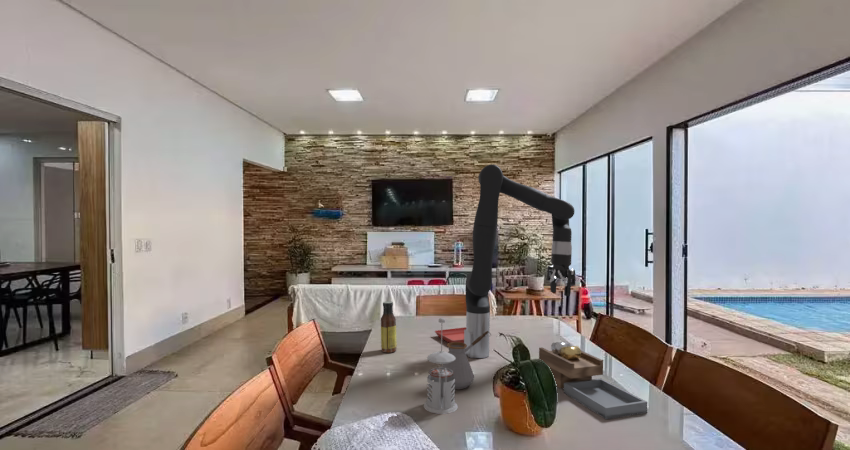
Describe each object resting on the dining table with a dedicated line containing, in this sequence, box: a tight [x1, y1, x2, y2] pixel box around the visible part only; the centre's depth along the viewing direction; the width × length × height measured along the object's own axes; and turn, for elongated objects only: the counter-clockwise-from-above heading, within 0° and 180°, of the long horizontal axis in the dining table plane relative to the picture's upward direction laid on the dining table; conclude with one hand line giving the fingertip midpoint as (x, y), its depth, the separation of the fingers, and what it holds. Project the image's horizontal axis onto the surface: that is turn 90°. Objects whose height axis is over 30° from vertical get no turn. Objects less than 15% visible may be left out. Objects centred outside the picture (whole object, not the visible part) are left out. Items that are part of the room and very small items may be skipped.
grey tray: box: [563, 378, 648, 420], centre depth 120 cm, size 14×18×3 cm
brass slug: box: [561, 345, 582, 360], centre depth 134 cm, size 5×4×4 cm
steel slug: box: [550, 341, 571, 355], centre depth 139 cm, size 5×4×4 cm
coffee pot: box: [442, 331, 492, 390], centre depth 135 cm, size 21×12×15 cm, turn 130°
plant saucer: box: [434, 326, 466, 343], centre depth 184 cm, size 18×18×3 cm
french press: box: [423, 317, 459, 415], centre depth 115 cm, size 10×12×25 cm
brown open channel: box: [538, 347, 604, 389], centre depth 135 cm, size 12×17×10 cm
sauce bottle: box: [380, 301, 398, 354], centre depth 166 cm, size 7×6×20 cm
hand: (560, 294), depth 161 cm, fingers open, 8 cm apart
